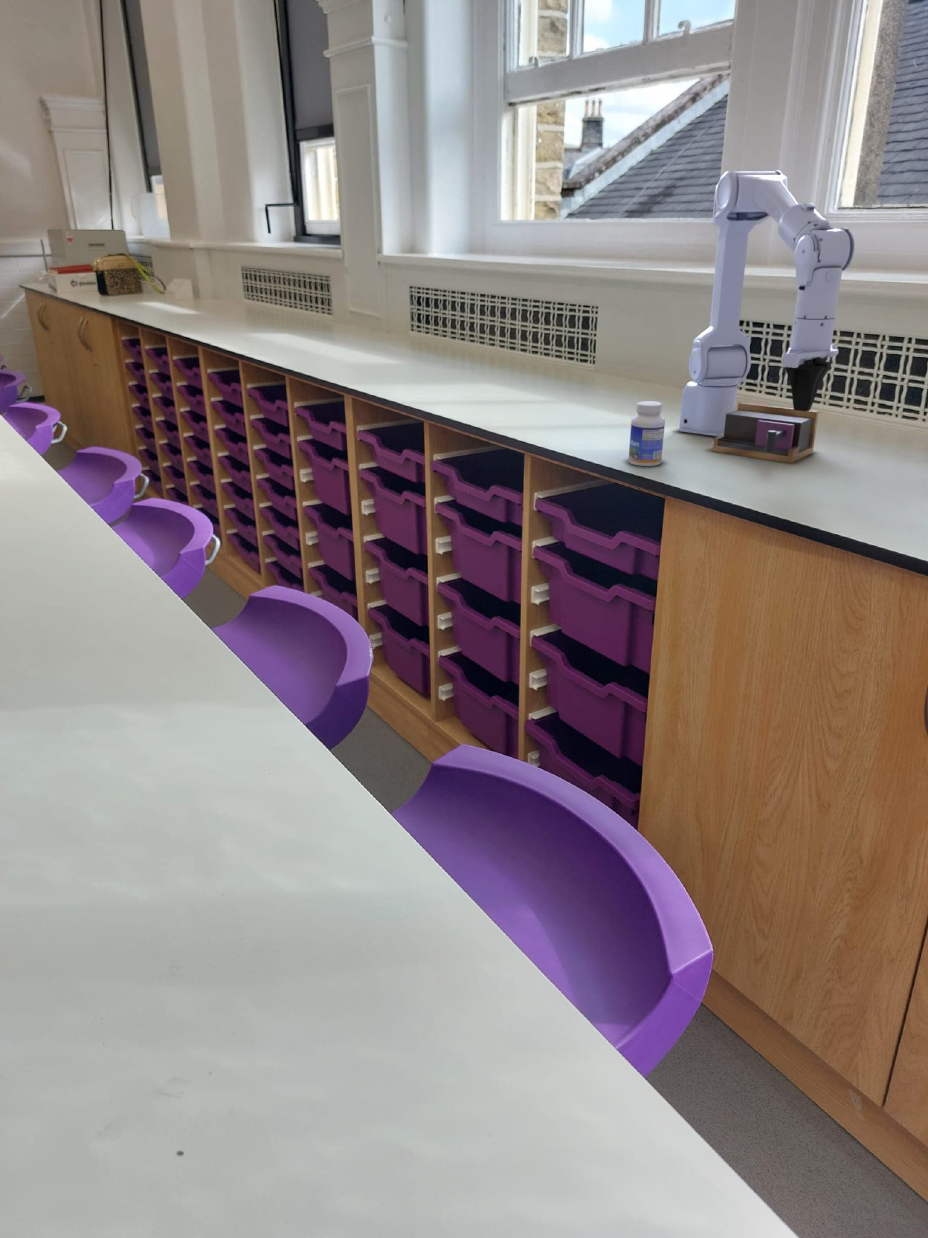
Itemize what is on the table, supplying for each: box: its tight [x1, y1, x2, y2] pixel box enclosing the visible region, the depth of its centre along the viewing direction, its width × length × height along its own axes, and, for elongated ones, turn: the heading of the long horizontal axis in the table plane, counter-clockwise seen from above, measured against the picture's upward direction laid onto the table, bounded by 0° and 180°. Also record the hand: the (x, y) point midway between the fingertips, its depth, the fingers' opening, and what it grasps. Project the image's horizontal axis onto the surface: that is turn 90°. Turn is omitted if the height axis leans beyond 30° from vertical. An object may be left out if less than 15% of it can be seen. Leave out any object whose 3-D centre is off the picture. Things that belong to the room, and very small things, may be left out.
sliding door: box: [755, 420, 795, 452], centre depth 143 cm, size 6×6×5 cm
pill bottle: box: [628, 400, 666, 467], centre depth 143 cm, size 5×5×10 cm
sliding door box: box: [712, 401, 820, 464], centre depth 149 cm, size 14×9×7 cm, turn 49°
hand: (801, 410), depth 136 cm, fingers closed
